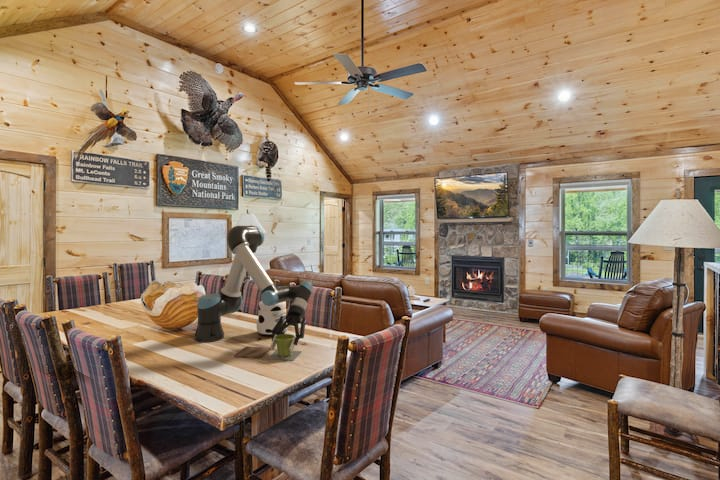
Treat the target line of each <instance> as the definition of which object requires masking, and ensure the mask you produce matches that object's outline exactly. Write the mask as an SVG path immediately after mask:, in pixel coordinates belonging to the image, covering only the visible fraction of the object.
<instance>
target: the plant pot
mask: <svg viewBox="0 0 720 480" xmlns="http://www.w3.org/2000/svg"><path fill="white" fill-rule="evenodd" d="M294 337H296V336H295V334H290V333H283V334H279V335H277V336H275V340H276V350H278V355H279V356H281V357H286V356H290V355H291V351H290V350H289V348H290V345H291V343H292V340H293V338H294Z"/></svg>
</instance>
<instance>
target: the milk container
mask: <svg viewBox="0 0 720 480" xmlns="http://www.w3.org/2000/svg"><path fill="white" fill-rule="evenodd" d="M257 304H258V307H257V309H258V310H257V313H258V315H257V316H258V317H257V321H256V330H257V333H258V334H260V335H262V336H270V337H271V336H272V337H273V334H272V333H271V331H272V330H273V328H274V327H275V325H276V324H277V322H278V321H279V320H280V317H281V316H283V317H286V316H287V301H285V302H281V303H278V304H275V305H271V306H266V305H264V304H263V303H262V300H261V301H259V302H258V303H257ZM285 321H286V320H285ZM283 323H284V322H283ZM287 331H288V327H286V328H285V329H284V330H283V331H282V332H281V333H280V334H279V335H281V334H286V332H287Z"/></svg>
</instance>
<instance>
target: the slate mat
mask: <svg viewBox="0 0 720 480" xmlns="http://www.w3.org/2000/svg"><path fill="white" fill-rule="evenodd" d="M301 353H303V351H301V350H293V352H291V355H290V356H286V357H281V356H279V355H278V350H277V349H276V350H275V351H274V352H272V353H271V354H270V355H269V356H268V357H266V360H273V361H274V360H275V361H289V362H294V361H295V360H296V359H297V358H298V357H299V356H300V355H301Z"/></svg>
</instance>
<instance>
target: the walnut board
mask: <svg viewBox="0 0 720 480" xmlns="http://www.w3.org/2000/svg"><path fill="white" fill-rule="evenodd" d="M271 351H272V348H271V347H264V346H262V347H261V346H249V345H247V346H245V347H243V348H242V349H241V350H239V351H237V352H236V353H234V355H233V357H234V358H241V359H242V358H244V359H254V360H255V359H257V360H258V359H259V360H261V359H262V358H264V356H266V355H267V354H268V353H270V352H271Z"/></svg>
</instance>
